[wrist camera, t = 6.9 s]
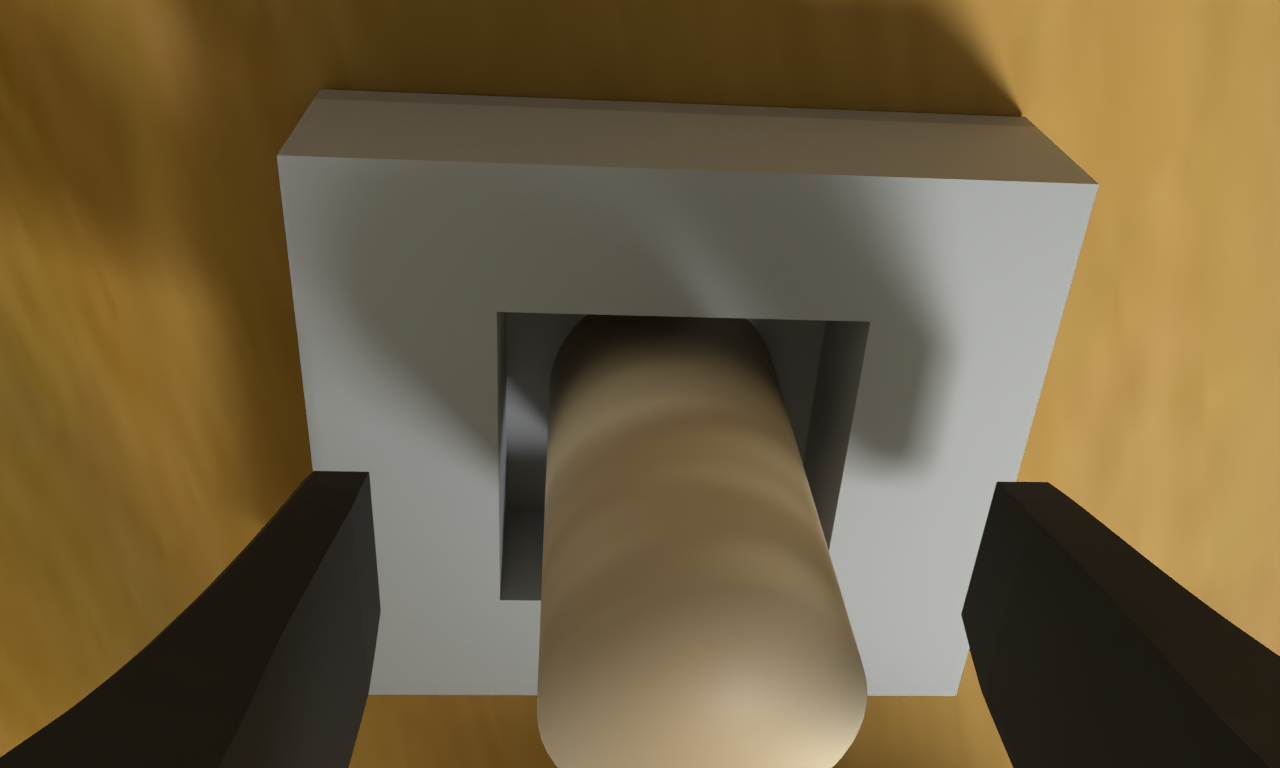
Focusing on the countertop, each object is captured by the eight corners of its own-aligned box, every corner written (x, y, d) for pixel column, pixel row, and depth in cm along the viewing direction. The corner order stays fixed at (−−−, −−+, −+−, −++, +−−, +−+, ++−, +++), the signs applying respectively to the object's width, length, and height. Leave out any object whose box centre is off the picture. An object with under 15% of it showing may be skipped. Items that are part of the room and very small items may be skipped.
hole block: (1024, 116, 15) (1099, 184, 13) (914, 587, 19) (955, 695, 17) (320, 89, 14) (276, 154, 12) (364, 582, 18) (338, 695, 16)
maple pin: (789, 293, 15) (895, 588, 10) (759, 483, 17) (838, 820, 12) (553, 283, 15) (540, 580, 10) (546, 478, 17) (533, 819, 12)
